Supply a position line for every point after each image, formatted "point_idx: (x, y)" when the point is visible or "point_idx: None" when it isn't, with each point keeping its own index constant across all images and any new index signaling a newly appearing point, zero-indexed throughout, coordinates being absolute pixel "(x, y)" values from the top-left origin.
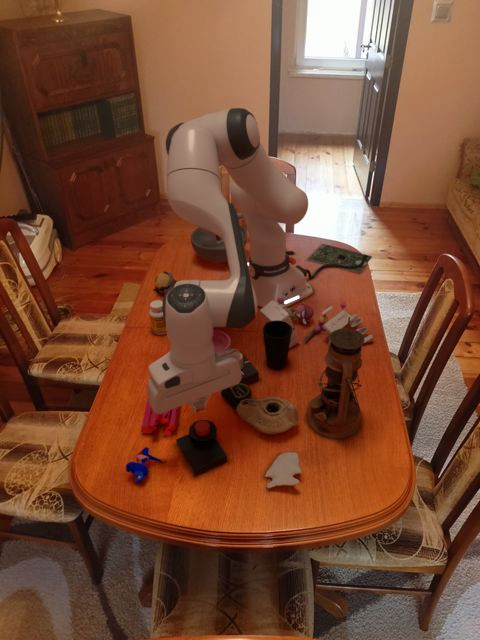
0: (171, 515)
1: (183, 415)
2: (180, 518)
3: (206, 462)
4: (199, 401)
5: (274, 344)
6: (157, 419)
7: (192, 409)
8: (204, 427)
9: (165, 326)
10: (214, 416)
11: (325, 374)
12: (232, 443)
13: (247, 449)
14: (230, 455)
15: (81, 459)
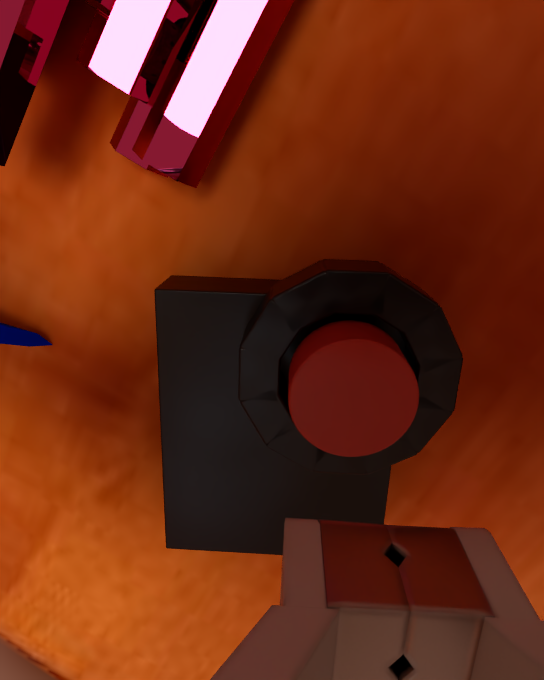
0: (14, 611)
1: (331, 17)
2: (45, 637)
3: (253, 540)
4: (449, 639)
5: None
6: (35, 61)
7: (281, 579)
8: (360, 424)
9: None
10: (523, 172)
11: None
12: (470, 438)
13: (511, 513)
14: (409, 497)
15: None
